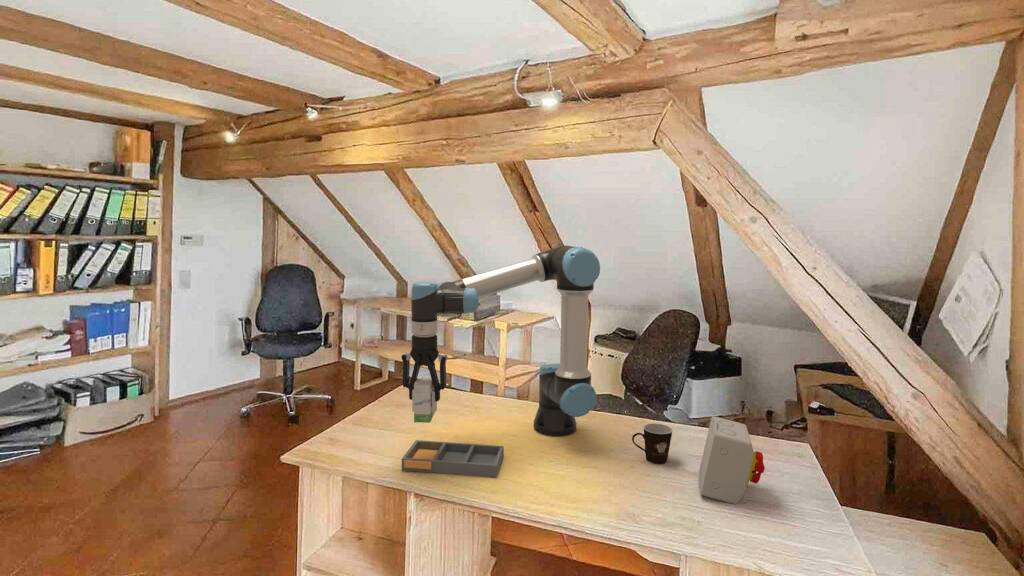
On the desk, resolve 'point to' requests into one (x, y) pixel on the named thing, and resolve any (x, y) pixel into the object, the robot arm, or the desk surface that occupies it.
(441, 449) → the tray
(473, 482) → the desk surface
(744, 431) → the electrical switch box
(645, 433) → the coffee mug
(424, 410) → the ink box
